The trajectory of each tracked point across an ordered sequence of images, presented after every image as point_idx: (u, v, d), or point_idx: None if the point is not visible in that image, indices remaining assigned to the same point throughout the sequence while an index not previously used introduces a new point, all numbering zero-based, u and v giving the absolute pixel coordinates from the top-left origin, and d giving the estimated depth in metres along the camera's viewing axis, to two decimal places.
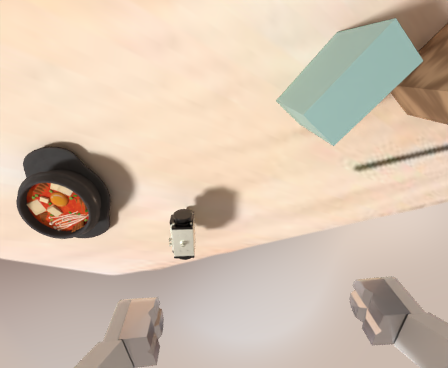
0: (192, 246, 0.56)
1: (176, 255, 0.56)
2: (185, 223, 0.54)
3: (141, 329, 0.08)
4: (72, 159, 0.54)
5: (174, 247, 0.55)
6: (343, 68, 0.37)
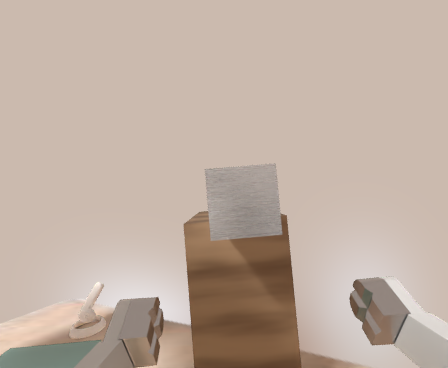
0: None
1: None
2: None
3: (141, 329, 0.08)
4: None
5: None
6: None
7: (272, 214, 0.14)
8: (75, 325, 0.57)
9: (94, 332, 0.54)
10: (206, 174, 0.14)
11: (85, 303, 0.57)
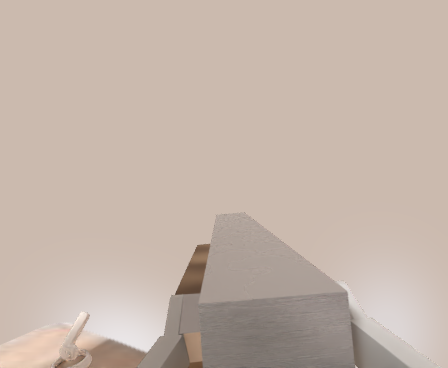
0: None
1: None
2: None
3: None
4: None
5: None
6: None
7: None
8: (56, 362, 0.50)
9: None
10: (201, 314, 0.06)
11: (67, 337, 0.50)
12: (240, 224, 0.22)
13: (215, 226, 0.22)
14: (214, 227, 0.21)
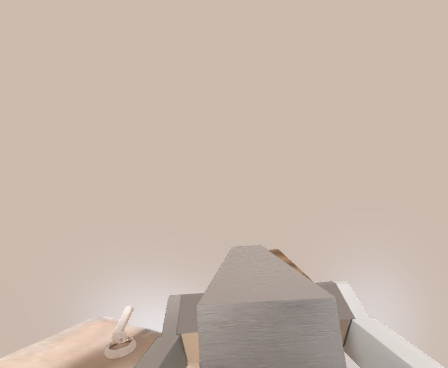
0: None
1: None
2: None
3: None
4: None
5: None
6: None
7: None
8: (109, 345, 0.63)
9: (127, 352, 0.61)
10: (199, 315, 0.07)
11: (118, 325, 0.63)
12: (253, 253, 0.22)
13: (228, 255, 0.22)
14: (227, 256, 0.22)
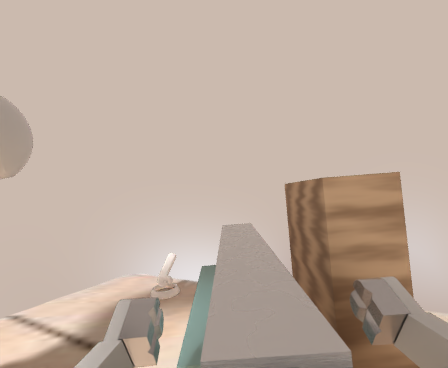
0: None
1: None
2: None
3: (141, 329, 0.08)
4: None
5: None
6: None
7: None
8: (154, 289, 0.64)
9: (173, 294, 0.62)
10: None
11: (162, 270, 0.64)
12: (246, 241, 0.22)
13: (221, 243, 0.22)
14: None
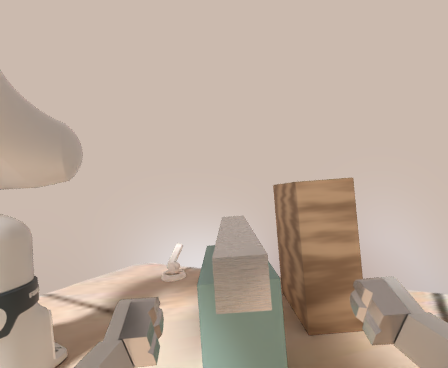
0: None
1: None
2: None
3: (141, 329, 0.08)
4: None
5: None
6: None
7: (264, 294, 0.17)
8: (164, 274, 0.76)
9: (181, 278, 0.73)
10: (213, 261, 0.17)
11: (171, 258, 0.76)
12: (237, 225, 0.33)
13: (220, 226, 0.33)
14: (220, 227, 0.32)
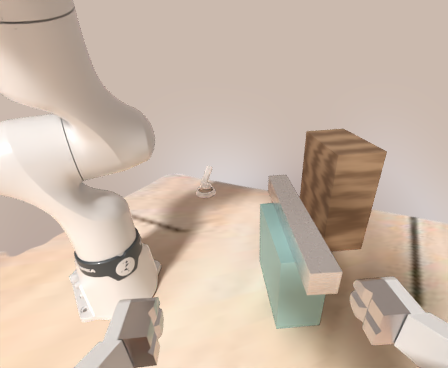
0: None
1: None
2: None
3: (141, 329, 0.08)
4: None
5: None
6: (268, 232, 0.45)
7: (335, 287, 0.31)
8: (198, 190, 0.91)
9: (213, 194, 0.89)
10: (310, 275, 0.30)
11: (203, 178, 0.89)
12: (294, 205, 0.44)
13: (282, 206, 0.44)
14: (282, 208, 0.43)
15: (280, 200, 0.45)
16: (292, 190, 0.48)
